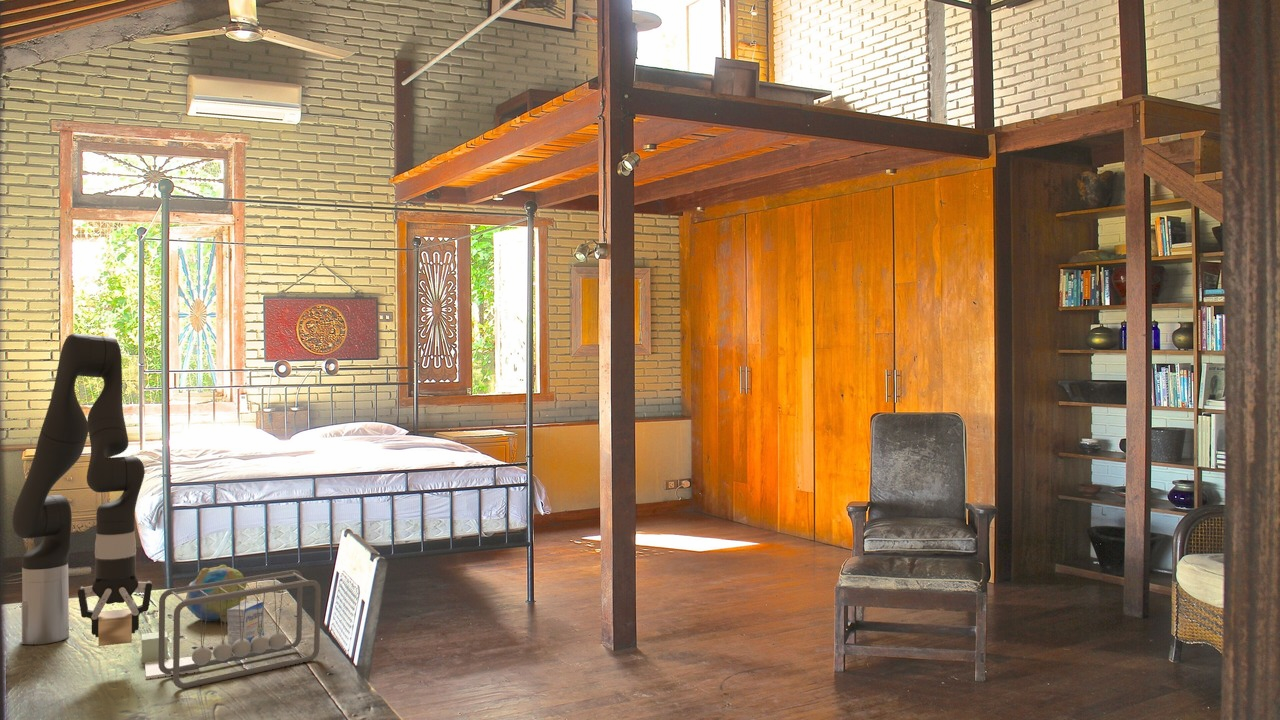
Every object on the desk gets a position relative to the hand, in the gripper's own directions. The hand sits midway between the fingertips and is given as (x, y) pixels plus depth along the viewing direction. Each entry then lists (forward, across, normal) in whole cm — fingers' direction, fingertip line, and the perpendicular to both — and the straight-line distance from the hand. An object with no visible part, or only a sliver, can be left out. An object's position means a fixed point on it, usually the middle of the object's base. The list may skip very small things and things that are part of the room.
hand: (115, 634), depth 210 cm
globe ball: (+9, -23, -36) cm, 44 cm away
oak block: (+1, 0, 0) cm, 1 cm away
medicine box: (+9, -26, -12) cm, 30 cm away
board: (+8, -11, +1) cm, 13 cm away
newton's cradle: (+8, -24, +8) cm, 26 cm away
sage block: (+9, -8, -9) cm, 14 cm away
